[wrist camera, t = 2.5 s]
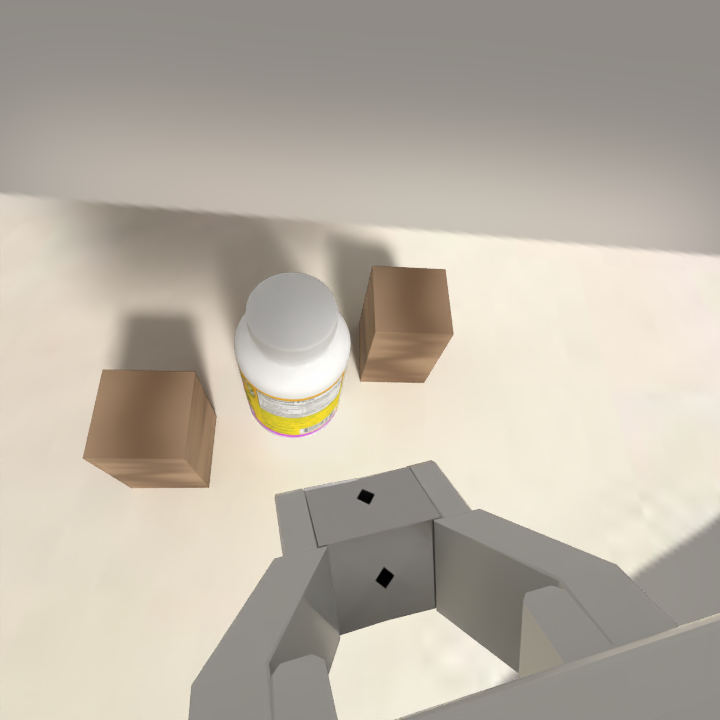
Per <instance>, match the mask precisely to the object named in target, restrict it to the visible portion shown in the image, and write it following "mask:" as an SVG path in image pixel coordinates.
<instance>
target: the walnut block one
mask: <svg viewBox="0 0 720 720" xmlns="http://www.w3.org/2000/svg"><path fill="white" fill-rule="evenodd" d="M215 426H216V415H215V413H214V410H213V408H212V406H211V404H210V402H209V400H208V398H207V396H206V393H205V391H204V389H203V387H202V385H201V383H200V381H199V378H198V376H197V374H196V372H188V371H145V370H102V375H101V379H100V384H99V388H98V393H97V397H96V402H95V406H94V411H93V415H92V420H91V424H90V429H89V433H88V437H87V442H86V446H85V451H84V455H83V459H85V460H86V461H88V462H90V463H91V464H93V465H94V466H96V467H98V468H99V469H101V470H103V471H104V472H106V473H108V474H109V475H111V476H112V477H114V478H116V479H117V480H119V481H121V482H122V483H124V484H126V485H127V486H129V487H130V488H209V483H210V473H211V464H212V454H213V445H214V436H215Z"/></svg>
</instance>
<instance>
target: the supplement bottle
mask: <svg viewBox="0 0 720 720" xmlns="http://www.w3.org/2000/svg"><path fill="white" fill-rule="evenodd" d="M234 349H235V355H236V360H237V363H238V367H239V370H240V373H241V377H242V381H243V384H244V388H245V392H246V395H247V399H248V402H249V406H250V408H251V411H252V413H253V415H254V417H255V419H256V420H257V422H258V423H259V424H260V425H261V426H262V427H263V428H264V429H266V430H267V431H268V432H270V433H272V434H274V435H276V436H279V437H283V438H291V439H297V438H304V437H308V436H311V435H313V434H315V433H317V432H319V431H320V430H322V429H323V428H324V427H325V426H326V425H327V424H328V423H329V422H330V421H331V420H332V418H333V417H334V415H335V413H336V411H337V408H338V405H339V401H340V396H341V391H342V387H343V382H344V377H345V372H346V368H347V363H348V359H349V355H350V349H351V340H350V333H349V329H348V326H347V324H346V322H345V320H344V318H343V316H342V315H341V314H340V312H339V311H338V306H337V302H336V299H335V297H334V295H333V293H332V292H331V290H330V289H329V288H328V287H327V286H326V285H325V284H324V283H323V282H321V281H320V280H318V279H317V278H315V277H313V276H310V275H307V274H303V273H297V272H288V273H280V274H276V275H273V276H271V277H269V278H267V279H265V280H263V281H262V282H261V283H259V284H258V285H257V286H256V287H255V288H254V290H253V291H252V292H251V294H250V296H249V298H248V301H247V304H246V313H245V314H244V315H243V317H242V318H241V320H240V322H239V324H238V327H237V330H236V333H235V340H234Z"/></svg>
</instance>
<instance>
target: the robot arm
mask: <svg viewBox="0 0 720 720" xmlns="http://www.w3.org/2000/svg"><path fill="white" fill-rule="evenodd" d="M275 504H276V511H277V518H278V525H279V532H280V539H281V546H282V553H283V557H279V558H275V559H274V560H273V562H272V563H271V565H270V566H269V568H268V569H267V571H266V572H265V574H264V575H263V577H262V578H261V580H260V581H259V583H258V584H257V586H256V588H255V589H254V591H253V592H252V594H251V595H250V597H249V598H248V600H247V601H246V603H245V604H244V606H243V607H242V609H241V610H240V612H239V614H238V615H237V617H236V618H235V620H234V621H233V623H232V624H231V626H230V627H229V629H228V630H227V632H226V633H225V635H224V636H223V638H222V639H221V641H220V643H219V644H218V646H217V647H216V649H215V650H214V652H213V653H212V655H211V656H210V658H209V659H208V661H207V662H206V664H205V665H204V667H203V669H202V670H201V672H200V673H199V675H198V676H197V678H196V679H195V681H194V682H193V684H192V685H191V696H190V708H189V719H188V720H338V719H337V715H336V710H335V705H334V700H333V696H332V691H331V686H330V681H329V677H328V675H329V672H330V668H331V665H332V662H333V659H334V656H335V653H336V650H337V647H338V644H339V640H340V635H342V634H346V633H349V632H352V631H355V630H358V629H361V628H365V627H368V626H371V625H374V624H377V623H380V622H384V621H387V620H391V619H395V618H399V617H403V616H407V615H411V614H415V613H419V612H423V611H426V610H430V609H434V608H437V611H438V612H439V613H440V614H442V615H443V616H444V617H446V618H447V619H448V620H450V621H451V622H452V623H454V624H455V625H456V626H457V627H459V628H460V629H461V630H463V631H464V632H465V633H467V634H468V635H469V636H470V637H472V638H473V639H474V640H476V641H477V642H478V643H480V644H481V645H482V646H484V647H485V648H486V649H487V650H489V651H490V652H491V653H493V654H494V655H495V656H497V657H498V658H499V659H501V660H502V661H503V662H504V663H506V664H507V665H508V666H510V667H511V668H512V669H514V670H515V671H516V672H518V673H519V679H517V680H514V681H511V682H508V683H505V684H502V685H499V686H496V687H493V688H489V689H486V690H483V691H480V692H477V693H474V694H471V695H468V696H465V697H462V698H459V699H456V700H453V701H450V702H447V703H444V704H441V705H437V706H434V707H431V708H428V709H425V710H422V711H419V712H416V713H413V714H410V715H407V716H404V717H401V718H398V719H395V720H720V613H719V614H716V615H713V616H710V617H706V618H703V619H701V620H697V621H694V622H691V623H688V624H685V625H682V626H679V625H677V623H675V622H674V621H673V620H672V619H671V618H670V617H669V616H668V615H667V614H666V613H665V612H664V611H663V610H662V609H661V608H660V607H659V606H658V605H657V604H656V603H655V602H654V601H653V600H652V599H651V598H650V597H649V596H648V595H647V594H646V593H645V592H644V591H643V590H642V589H641V588H640V587H639V586H638V585H637V584H636V583H635V582H634V581H632V579H631V578H630V577H628V576H627V575H626V574H625V573H624V572H623V571H622V570H621V569H620V568H619V567H618V566H617V565H616V564H613V563H611V562H608V561H606V560H604V559H601V558H599V557H596V556H594V555H591V554H589V553H586V552H584V551H582V550H579V549H577V548H574V547H572V546H569V545H567V544H564V543H562V542H560V541H557V540H555V539H552V538H550V537H547V536H545V535H542V534H540V533H538V532H535V531H533V530H530V529H528V528H525V527H523V526H520V525H518V524H515V523H513V522H511V521H508V520H506V519H503V518H501V517H498V516H496V515H493V514H491V513H489V512H486V511H484V510H481V509H477V510H473V511H472V510H471V508H470V507H469V506H468V505H467V503H466V502H465V501H464V499H463V498H462V497H461V495H460V494H459V493H458V491H457V490H456V489H455V487H454V486H453V485H452V484H451V482H450V481H449V480H448V478H447V477H446V476H445V474H444V473H443V472H442V470H441V469H440V468H439V466H438V465H437V464H436V463H435V462H434V461H431V460H430V461H426V462H422V463H419V464H415V465H411V466H407V467H405V468H401V469H396V470H392V471H388V472H383V473H379V474H375V475H370V476H366V477H362V478H358V479H357V478H354V479H349V480H344V481H339V482H334V483H329V484H323V485H318V486H313V487H308V488H304V490H303V489H298V490H293V491H289V492H284V493H279V494H275Z"/></svg>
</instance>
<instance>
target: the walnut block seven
mask: <svg viewBox="0 0 720 720" xmlns="http://www.w3.org/2000/svg"><path fill="white" fill-rule="evenodd" d="M452 336H453V326H452V318H451V310H450V302H449V294H448V286H447V278H446V270H445V269H427V268H407V267H387V266H372V270H371V274H370V279H369V283H368V287H367V292H366V296H365V300H364V305H363V309H362V313H361V318H360V322H359V348H360V381H361V382H407V383H424V382H425V380H426V378H427V377H428V375H429V374H430V372H431V370H432V369H433V367H434V365H435V364H436V362H437V361H438V359H439V357H440V356H441V354H442V352H443V351H444V349H445V347H446V346H447V344H448V343H449V341H450V339H451V338H452Z"/></svg>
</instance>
